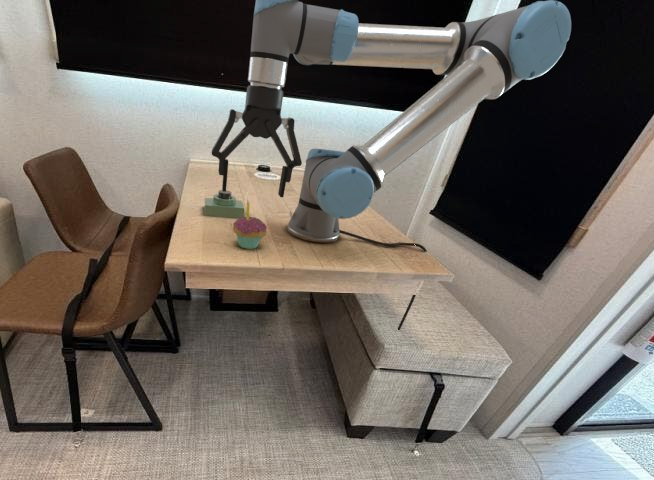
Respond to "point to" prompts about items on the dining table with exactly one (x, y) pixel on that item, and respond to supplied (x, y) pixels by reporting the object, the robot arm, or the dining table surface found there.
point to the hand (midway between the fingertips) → (252, 193)
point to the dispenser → (224, 207)
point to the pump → (224, 194)
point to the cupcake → (249, 230)
